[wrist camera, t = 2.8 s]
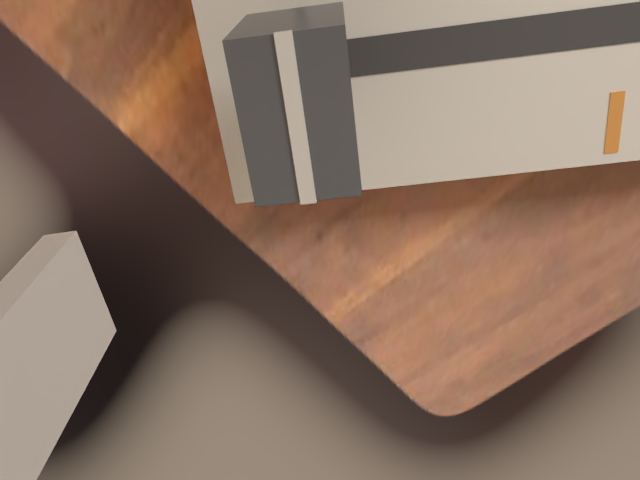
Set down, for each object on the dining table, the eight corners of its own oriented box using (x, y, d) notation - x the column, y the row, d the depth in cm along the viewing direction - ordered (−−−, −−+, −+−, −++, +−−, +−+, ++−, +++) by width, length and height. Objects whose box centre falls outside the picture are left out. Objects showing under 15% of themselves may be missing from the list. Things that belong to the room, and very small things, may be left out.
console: (188, -84, 28) (172, -85, 26) (754, -169, 26) (802, -179, 23) (243, 182, 35) (235, 204, 32) (697, 132, 33) (730, 150, 30)
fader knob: (255, 3, 27) (221, 39, 19) (341, -9, 27) (344, 23, 18) (276, 131, 30) (255, 209, 22) (355, 121, 29) (362, 198, 21)
